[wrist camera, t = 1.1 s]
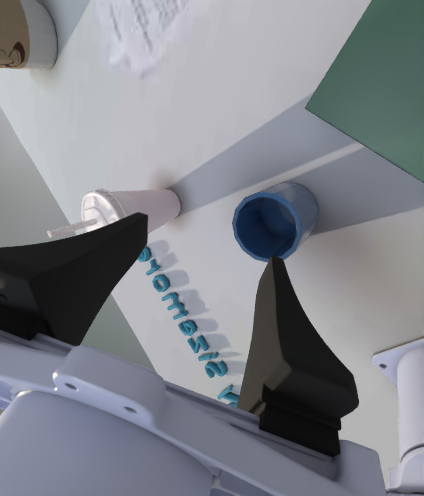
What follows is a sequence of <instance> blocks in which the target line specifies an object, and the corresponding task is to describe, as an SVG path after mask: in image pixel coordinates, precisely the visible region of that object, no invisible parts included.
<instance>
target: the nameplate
mask: <svg viewBox="0 0 424 496" xmlns="http://www.w3.org/2000/svg"><path fill="white" fill-rule="evenodd" d="M149 257H150V252H149V249H148V248H146V247H145V248H144V249H143V251H142V253H141V254H140V256H139V257H138V260H139V261H140V262H144V261H148V259H149ZM150 263H151V269H150V270H149V271H148V272H146V274H147V275H150V274H151V273H153V272H154V271H156V270H157V269H158V268H159V266H158V265H156V262H155V259H153V260H151V261H150ZM158 279H160V280H161V281H162V282H163V285H164V287H161V286H160V285H159V284H158V281H157V280H158ZM152 282H153V285H154V288H155V289H156V290H157V291H158V292H164V291H166V289H167V288H168V286H169V284H168V281H167V279H166V278H165V277H164V276H163V275H158V276H155V277H154V279H153V281H152ZM169 298H171V299H173V303H174V304H173V305H171V306H169V307H168V308H167V309H168V310H171V309H173V308H178V309H179V313H180V314H178V315H175V316H174V317H173V318H174V320H175V319H178V318H180V317H183V316H186V315H187V311H185V312H184V309H183V305H182V304H180V303H179V302H178V298H177V295H176V294H175V293H170V294H168V295H166V296H164V297H163V298H162V301H165V300H167V299H169ZM178 326H179V328H180V330H181V331H182V332H183V333H184V334H185V335H189V336H191V335H192V334H193V333H194V332H195V331H196V327H195V324H194V323H193V322H192V321H184V322H183V323H179V325H178ZM188 343H189V345H190V346H191V348H192V349H193V351H194V353H198V351H199V348H200V345H201V346H202V348H203V349H204V351H206V350H208V348H209V347H208V346H207V344H206V342H205V341H204V339H203V338H202V336H198V338H197V341H196V344H195V343H194V341H193V339H192V338H190V339H188ZM217 357H218V354H217V353H214V354H206V355H201V356H199V358H198V359H199V361H202V360H208V359H212V358H213V359H214V358H217ZM205 370H206V373H207V374H208V376H209V377H210V378H212V377H214V373H213V372H212V370H213V371H214V372H215V373H216V374H217V375H219V376H224V375H225V374H226V372H227V369H226V366H225V365H224V364H223V362H222V361H221V362H219V363H218V367H217V366H216V365H215V364H214V363H212V362H208V363H207V364H206V365H205ZM232 388H233V386H232V385H231V386H230V387H228V388H227V389H226V390H224V391H223V392H222V393H221V394H219V395H218V399H220V398H225V399H227V400H230V401H233V402H236V403H230V404H228V405H230V406H233V407H237V403H238V399H239V397H238V396H235V395H232V394H229V393H228V392H229V391H231V390H232Z"/></svg>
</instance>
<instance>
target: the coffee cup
mask: <svg viewBox="0 0 424 496" xmlns="http://www.w3.org/2000/svg"><path fill="white" fill-rule="evenodd" d="M56 58H57V36H56V31H55V26H54V24H53V21H52V18H51V16H50V14H49V12H48V11H47V9H46V8H45V7H44V6H43V5H42V4H40V3H38V2H37V1H36V0H0V68H14V69H29V70H43V69H50V68H52V67H53V65H54V64H55V61H56Z"/></svg>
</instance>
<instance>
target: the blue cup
mask: <svg viewBox="0 0 424 496" xmlns="http://www.w3.org/2000/svg"><path fill="white" fill-rule="evenodd" d="M317 219H318V205H317V202H316V200H315V198H314V196H313V195H312V194H311V192H310V191H309V190H307V189H306V188H305V187H303V186H301V185H299V184H296V183H280V184H277V185H275V186H272V187H270V188H267V189H265V190H262V191H260V192H257V193H255V194H253V195H250V196H248V197H245V198H244V199H243V201H242V202H241V203H240V204H239V205H238V207H237V208H236V209H235V213H234V218H233V222H232V225H233V230H234V236H235V239H236V240H237V242H238V243H239V245H240V247H241V248H242V250H243V251H244V252H246V253H247V254H248V255H250V256H251V257H252V258H254V259H256V260H260V261H264V262H269V260H270V258H271V256H272V255H273V256H276V257H279V258H282V259H283V260H285V259H286V258H287V257H289V256H290V255H291V254H292V253H294V252H295V251H296V250H297V249H298V247H299V246H300V245H301V244H302V243H303V242H304V240H305V239H306V238H307V237H308V236H309V234H310V233H311V232H312V231H313V228H314V227H315V225H316V222H317Z"/></svg>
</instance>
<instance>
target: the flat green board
mask: <svg viewBox="0 0 424 496" xmlns="http://www.w3.org/2000/svg"><path fill="white" fill-rule="evenodd" d="M305 109H307V110H308V111H310V112H311V113H313V114H315V115H316V116H318V117H319V118H321V119H323V120H324V121H326V122H327V123H329V124H331V125H332V126H334V127H335V128H337V129H339V130H340V131H342V132H343V133H345V134H347V135H348V136H350V137H351V138H353V139H355V140H356V141H358V142H359V143H361V144H363V145H364V146H366V147H367V148H369V149H371V150H372V151H374V152H375V153H377V154H379V155H380V156H382V157H383V158H385V159H387V160H388V161H390V162H391V163H393V164H395V165H396V166H398V167H399V168H401V169H403V170H404V171H406V172H407V173H409V174H411V175H412V176H414V177H415V178H417V179H419V180H420V181H422V182H423V183H424V0H372V1H371V3H370V4H369V6H368V7H367V9H366V11H365V12H364V14H363V15H362V17H361V19H360V20H359V22H358V23H357V25H356V27H355V28H354V30H353V32H352V33H351V35H350V36H349V38H348V40H347V41H346V43H345V44H344V46H343V48H342V49H341V51H340V52H339V54H338V56H337V57H336V59H335V60H334V62H333V64H332V65H331V67H330V68H329V70H328V72H327V73H326V75H325V77H324V78H323V80H322V81H321V83H320V85H319V86H318V88H317V89H316V91H315V93H314V94H313V96H312V97H311V99H310V101H309V102H308V104H307V105H306V107H305Z"/></svg>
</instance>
